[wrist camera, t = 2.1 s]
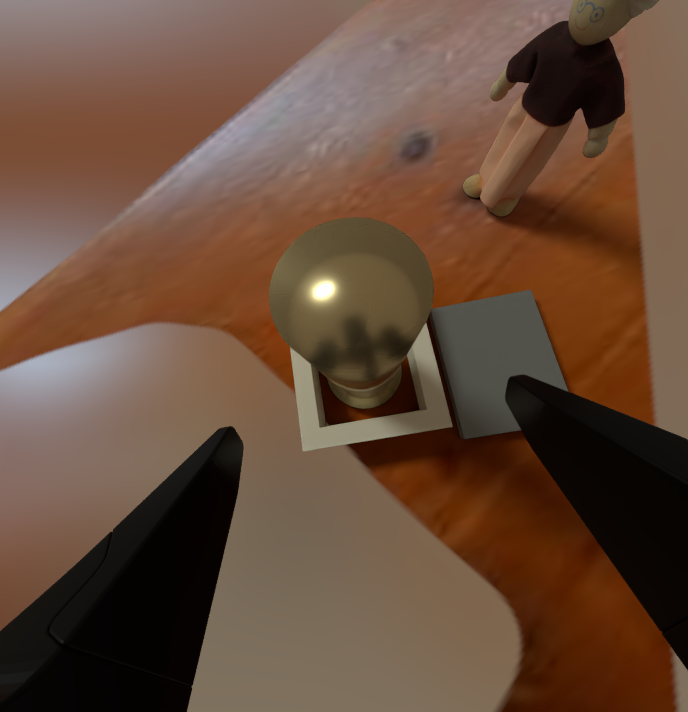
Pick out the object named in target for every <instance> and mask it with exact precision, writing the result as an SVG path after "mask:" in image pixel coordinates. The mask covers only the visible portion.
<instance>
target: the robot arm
mask: <svg viewBox="0 0 688 712" xmlns="http://www.w3.org/2000/svg"><path fill="white" fill-rule="evenodd" d="M505 401H506V403H507V405H508V407H509V409H510V411H511V412H512V414H513V416H514V418H515V420H516V421H517V423H518V425H519V427H520V429H521V430H522V432H523V434H524V436H525V438H526V439H527V441H528V443H529V444H530V446H531V448H532V449H533V451H534V452H535V454H536V455H537V456H538V458H539V459H540V461H541V462H542V464H543V465H544V466H545V468H546V469H547V471H548V472H549V474H550V475H551V476H552V478H553V479H554V481H555V482H556V483H557V485H558V486H559V488H560V489H561V491H562V492H563V493H564V495H565V496H566V498H567V499H568V501H569V502H570V503H571V505H572V506H573V508H574V509H575V510H576V512H577V513H578V515H579V516H580V518H581V519H582V520H583V522H584V523H585V525H586V526H587V527H588V529H589V530H590V532H591V533H592V535H593V536H594V537H595V539H596V540H597V542H598V543H599V545H600V546H601V547H602V549H603V550H604V552H605V553H606V554H607V556H608V557H609V559H610V560H611V562H612V563H613V564H614V566H615V567H616V569H617V570H618V572H619V573H620V574H621V576H622V577H623V579H624V580H625V581H626V583H627V584H628V586H629V587H630V589H631V590H632V591H633V593H634V594H635V596H636V597H637V599H638V600H639V601H640V603H641V604H642V606H643V607H644V608H645V610H646V611H647V613H648V614H649V616H650V617H651V618H652V620H653V621H654V623H655V624H656V626H657V627H658V628H659V630H660V631H662V634H663V636H664V637H665V639H666V640H667V642H668V643H669V644H670V646H671V647H672V649H673V650H674V652H675V653H676V654H677V656H678V657H679V659H680V660H681V662H682V663H683V664H684V666H685V667H686V669H687V670H688V440H687V439H686V438H683V437H681V436H678V435H676V434H673V433H671V432H668V431H666V430H663V429H661V428H658V427H656V426H653V425H651V424H648V423H646V422H643V421H641V420H638V419H636V418H633V417H631V416H628V415H626V414H623V413H621V412H618V411H615V410H613V409H610V408H608V407H605V406H603V405H600V404H598V403H595V402H593V401H590V400H588V399H585V398H583V397H580V396H578V395H575V394H573V393H570V392H568V391H565V390H563V389H560V388H558V387H555V386H553V385H550V384H548V383H545V382H543V381H540V380H538V379H535V378H533V377H530V376H528V375H524V374H521V375H515V376H511V377H509V379H508V382H507V387H506V393H505ZM243 449H244V448H243V442H242V440H241V439H240V437H239V435H238V434H237V432H236V430H235V429H234V428H233V427H231V426H229V427H224V428H220V429H218V430H217V431H216V432H215V433H214V434H213V435H212V436H211V437H210V438H209V439H208V440H207V441H205V442H204V443H203V444H202V445H201V446H200V447H199V448H198V449H197V450H196V451H195V452H194V453H193V454H192V455H191V456H190V457H189V458H188V459H187V460H186V461H184V462H183V463H182V464H181V465H180V466H179V467H178V468H177V469H176V470H175V471H174V472H173V473H172V474H171V475H170V476H169V477H168V478H167V479H166V480H165V481H163V482H162V483H161V484H160V485H159V486H158V487H157V488H156V489H155V490H154V491H153V492H152V493H151V494H150V495H149V496H148V497H147V498H146V499H145V500H143V502H141V503H140V504H139V505H138V506H137V507H136V508H135V509H134V510H133V511H132V512H131V513H130V514H129V515H128V516H127V517H126V518H125V519H124V520H122V521H121V522H120V524H118V525H117V526H116V527H115V528H114V529H113V532H110V533H109V534H108V535H107V536H106V537H105V538H103V540H101V541H100V542H99V543H98V544H97V545H96V546H95V547H94V548H93V549H92V550H91V551H90V552H89V553H88V554H87V555H85V557H83V558H82V559H81V560H80V561H79V562H78V563H77V564H76V565H75V566H74V567H73V568H71V569H70V570H69V571H68V572H67V573H66V574H65V575H64V576H62V578H60V579H59V580H58V581H57V582H56V583H55V584H53V585H52V586H51V587H50V588H49V589H48V590H47V591H46V592H44V593H43V594H42V595H41V596H40V597H39V598H38V599H36V600H35V601H34V602H33V603H32V604H31V605H30V606H28V607H27V608H26V609H25V610H24V611H23V612H22V613H20V614H19V615H18V616H17V617H16V618H15V619H13V620H12V621H11V622H10V623H9V624H8V625H7V626H5V627H4V628H3V629H2V630H1V631H0V712H187V708H188V704H189V700H190V695H191V691H192V687H191V686H192V685H193V681H194V677H195V673H196V669H197V665H198V661H199V656H200V652H201V648H202V644H203V639H204V635H205V630H206V626H207V622H208V618H209V614H210V609H211V605H212V601H213V597H214V593H215V588H216V584H217V580H218V575H219V571H220V567H221V562H222V559H223V554H224V550H225V545H226V542H227V537H228V533H229V529H230V525H231V520H232V516H233V511H234V507H235V503H236V499H237V494H238V488H239V481H240V472H241V465H242V457H243Z"/></svg>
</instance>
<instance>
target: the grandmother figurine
mask: <svg viewBox="0 0 688 712" xmlns="http://www.w3.org/2000/svg"><path fill="white" fill-rule="evenodd" d="M658 1H659V0H574V1H573V3H572V7H571V10H570V15H569V21H562V22H559V23H557V24H555V25H553V26H552V27H550V28H549V29H547V30H545V31H544V32H542V33H541V34H540V35H538V36H537V37H536V38H534V39H533V40H532V41H531V42H529V43H528V44H527V45H526V46H525V47H524V48H523V49H522V50H520V51H519V52H518V53H517V54H516V55H515V56H513V57H512V58H511V60H510V61H509V63H508V66H507V67H506V69H505V70H504V71H503V72H502V74H501V75H500V77H499V80H497V81H496V82H495V83H494V84H493V85H492V87H491V90H490V98H491V99H492V100H493V101H499V100H501V99H503V98H504V97H505V95H506V94H507V92H508V90H510V89H511V88H512V87H513V86H514V85H515V84H516V83H517V82H524V83H529V85H528V87H527V89H526V90H525V92H524V93H523V94H522V95H521V97H520V98H519V99H518V100H517V101H516V102H515V104H514V106H513V107H512V109H511V111H510V113H509V115H508V116H507V118H506V120H505V122H504V124H503V126H502V128H501V130H500V132H499V134H498V136H497V138H496V140H495V142H494V144H493V146H492V147H491V149H490V151H489V153H488V155H487V157H486V159H485V161H484V163H483V165H482V167H481V169H480V173H479V174H476V175H473V176H471V177H469V178H468V179H467V180H466V181H465V182H464V185H463V190H464V191H465V193H466V194H467V195H468V196H470V197H473V198H478V197H480V199H481V201H482V202H483V203H484V204H485V205H486V206H487V208H488V210H489V211H490V212H492V213H493V214H495V215H497V216H506V215H508V214H510V213H511V211H512V210H513V209H514V207H515V206H516V204H517V203H518V201H519V200H520V197H521V196H522V195H523V193H524V192H525V191H526V190H527V188H528V187H529V186H530V184H531V183H532V182H533V181H534V180H535V178H536V177H537V176H538V175H539V173H540V172H541V171H542V169H543V168H544V166H545V165H546V163H547V162H548V160H549V158H550V157H551V155H552V154H553V153H554V151H555V150H556V148H557V146H558V145H559V143H560V141H561V140H562V138H563V136H564V135H565V133H566V131H567V130H568V128H569V126H570V124H571V122H572V119H573V117H574V115H575V112H576V111H577V110H578V109H580V108H581V109H582V111H583V114H584V117H585V121H586V124H587V126H588V129H589V131H588V140H587V141H586V143H585V145H584V147H583V155H584V156H585V157H587V158H593V157H596V156H598V155H600V154H601V153H602V152H603V151H604V150H605V148H606V146H607V143H608V136H609V135H610V134H611V132H612V131H613V128H614V126H615V123H616V121H617V118H618V117H620V116H621V115H623V114H624V112H625V99H624V77H623V73H622V69H621V66H620V63H619V61H618V59H617V57H616V54H615V50H614V47H613V45H612V43H611V41H610V39H609V37H611V36H613V35H614V34H616V33H617V32H618V31H619V30H620V29H621V28H622V27H624V26H625V25H626V24H627V23H628V22H629V21H630V19H631V18H634V17H636V16H638V15H639V14H641V13H642V12H643V11H644V10H648V9H650V8H652V7H653V6H654V5H655V4H656V3H657V2H658Z"/></svg>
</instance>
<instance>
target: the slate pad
mask: <svg viewBox="0 0 688 712" xmlns="http://www.w3.org/2000/svg"><path fill="white" fill-rule="evenodd" d="M429 319H430V322H431V326H432V330H433V334H434V338H435V342H436V346H437V349H438V353H439V357H440V361H441V365H442V369H443V373H444V376H445V380H446V384H447V388H448V392H449V396H450V400H451V403H452V407H453V411H454V415H455V419H456V423H457V427H458V430H459V434H460V438H462V439H469V438H475V437H481V436H487V435H493V434H500V433H506V432H512V431H518V430H521V429H520V427H519V425H518V423H517V421H516V420H515V418H514V416H513V414H512V412H511V411H510V409H509V407H508V405H507V403H506V401H505V393H506V387H507V382H508V379H509V377H511V376H515V375H521V374H524V375H528V376H530V377H533V378H535V379H538V380H540V381H543V382H545V383H548V384H550V385H553V386H555V387H558V388H560V389H563V390H565V391H568V389H567V387H566V384H565V381H564V378H563V376H562V373H561V370H560V368H559V365H558V362H557V359H556V357H555V354H554V351H553V349H552V346H551V343H550V340H549V338H548V335H547V332H546V329H545V327H544V324H543V321H542V319H541V316H540V313H539V310H538V308H537V305H536V302H535V300H534V297H533V294H532V291H531V290H527V291H522V292H517V293H512V294H507V295H501V296H496V297H491V298H486V299H481V300H476V301H470V302H465V303H460V304H455V305H450V306H445V307H439V308H434V309H431V311H430V314H429Z"/></svg>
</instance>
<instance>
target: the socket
mask: <svg viewBox="0 0 688 712" xmlns="http://www.w3.org/2000/svg"><path fill="white" fill-rule="evenodd" d="M290 349H291V358H292V366H293V374H294V382H295V391H296V399H297V407H298V415H299V423H300V432H301V440H302V448H303V451H309V450H315V449H321V448H327V447H333V446H339V445H345V444H352V443H358V442H364V441H370V440H376V439H382V438H388V437H394V436H400V435H406V434H413V433H419V432H425V431H431V430H437V429H443V428H449V427H453V426H452V422H451V418H450V414H449V410H448V406H447V402H446V398H445V394H444V390H443V387H442V383H441V379H440V375H439V371H438V367H437V363H436V359H435V355H434V351H433V347H432V343H431V340H430V336H429V332H428V328H427V324H426V323H425V325H424V327H423V328H422V330H421V332H420V333H419V335H418V337H417V339H416V340H415V342H414V344H413V345H412V347H411V349H410V350H409V352H408V354H407V357H408V361H409V366H410V370H411V374H412V379H413V383H414V387H415V392H416V396H417V401H418V405H419V409H420V410H418V411H413V412H407V413H401V414H395V415H389V416H383V417H377V418H371V419H365V420H359V421H354V422H348V423H342V424H336V425H330V426H326V420H325V413H324V407H323V400H322V393H321V386H320V379H319V372H318V370H317V369H316V368H315V367H314V366H312V365H311V364H310V363H309V362H308V361H306V360H305V359H304V358H303V357H302V356H300V355H299V354H298V353H297V352H295V351H294V350H293V349H292V348H291V347H290Z"/></svg>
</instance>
